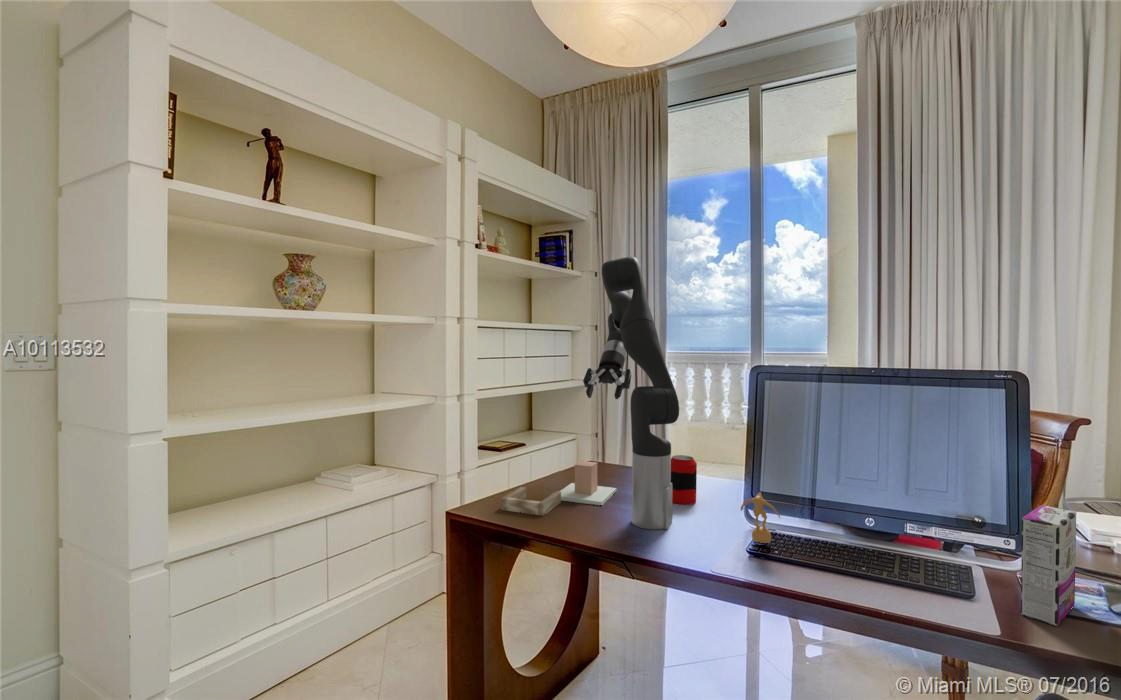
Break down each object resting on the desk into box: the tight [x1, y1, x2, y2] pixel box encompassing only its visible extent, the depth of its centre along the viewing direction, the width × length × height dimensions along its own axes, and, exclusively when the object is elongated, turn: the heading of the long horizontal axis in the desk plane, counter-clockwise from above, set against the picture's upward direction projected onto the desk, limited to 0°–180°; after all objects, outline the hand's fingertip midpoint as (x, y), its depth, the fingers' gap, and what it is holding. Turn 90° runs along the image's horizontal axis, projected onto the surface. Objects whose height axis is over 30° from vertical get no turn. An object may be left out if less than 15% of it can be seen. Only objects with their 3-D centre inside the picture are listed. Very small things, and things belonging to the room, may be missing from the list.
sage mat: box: [559, 482, 618, 506], centre depth 152 cm, size 14×14×1 cm
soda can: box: [671, 454, 698, 506], centre depth 148 cm, size 8×8×12 cm
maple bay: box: [500, 486, 562, 517], centre depth 142 cm, size 12×12×3 cm
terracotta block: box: [574, 460, 598, 495], centre depth 152 cm, size 5×5×8 cm
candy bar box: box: [1020, 504, 1077, 627], centre depth 89 cm, size 11×5×16 cm, turn 126°
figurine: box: [740, 492, 781, 544], centre depth 116 cm, size 8×6×12 cm
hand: (602, 396), depth 160 cm, fingers open, 8 cm apart
